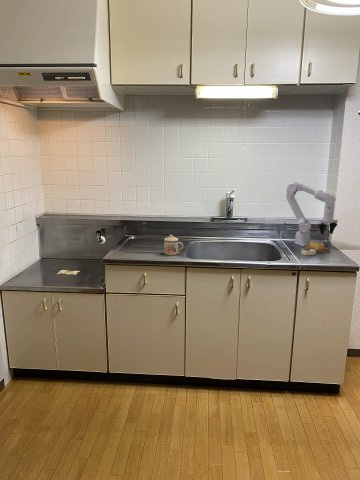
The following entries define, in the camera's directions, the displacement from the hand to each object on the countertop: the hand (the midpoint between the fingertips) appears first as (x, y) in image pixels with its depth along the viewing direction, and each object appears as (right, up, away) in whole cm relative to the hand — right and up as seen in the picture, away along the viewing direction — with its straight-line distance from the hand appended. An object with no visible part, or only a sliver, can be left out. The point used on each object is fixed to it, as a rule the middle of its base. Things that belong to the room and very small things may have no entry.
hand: (326, 233), depth 245 cm
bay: (-17, -13, -14) cm, 26 cm away
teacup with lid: (-102, -13, -16) cm, 104 cm away
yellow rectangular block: (-9, -10, -5) cm, 15 cm away
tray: (-9, -11, -5) cm, 15 cm away
